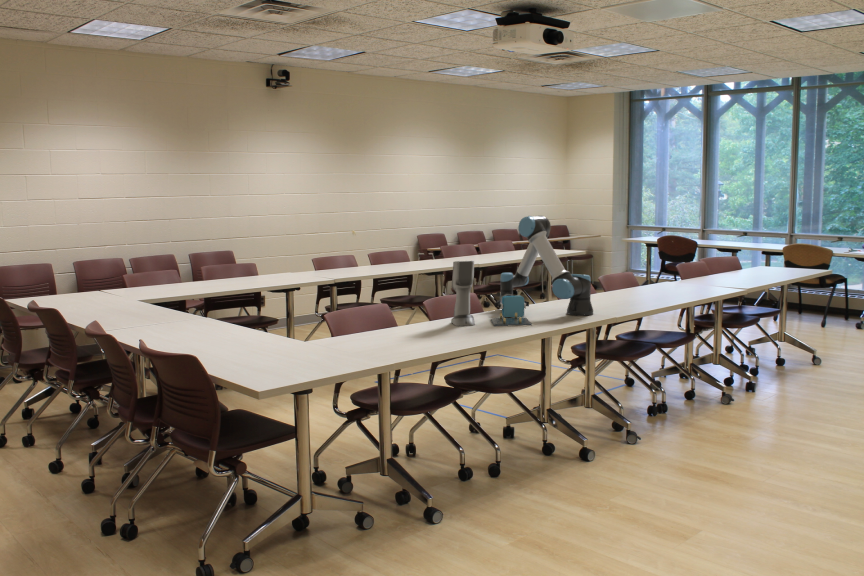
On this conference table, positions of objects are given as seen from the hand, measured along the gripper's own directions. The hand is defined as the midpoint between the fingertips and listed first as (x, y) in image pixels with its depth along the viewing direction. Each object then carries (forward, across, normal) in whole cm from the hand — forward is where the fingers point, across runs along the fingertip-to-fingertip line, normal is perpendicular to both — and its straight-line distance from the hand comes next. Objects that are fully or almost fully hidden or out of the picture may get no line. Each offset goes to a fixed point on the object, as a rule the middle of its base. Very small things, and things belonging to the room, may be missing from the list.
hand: (513, 306), depth 413 cm
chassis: (+16, +4, -6) cm, 17 cm away
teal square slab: (-3, 0, -7) cm, 7 cm away
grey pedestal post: (+17, +30, -7) cm, 35 cm away
